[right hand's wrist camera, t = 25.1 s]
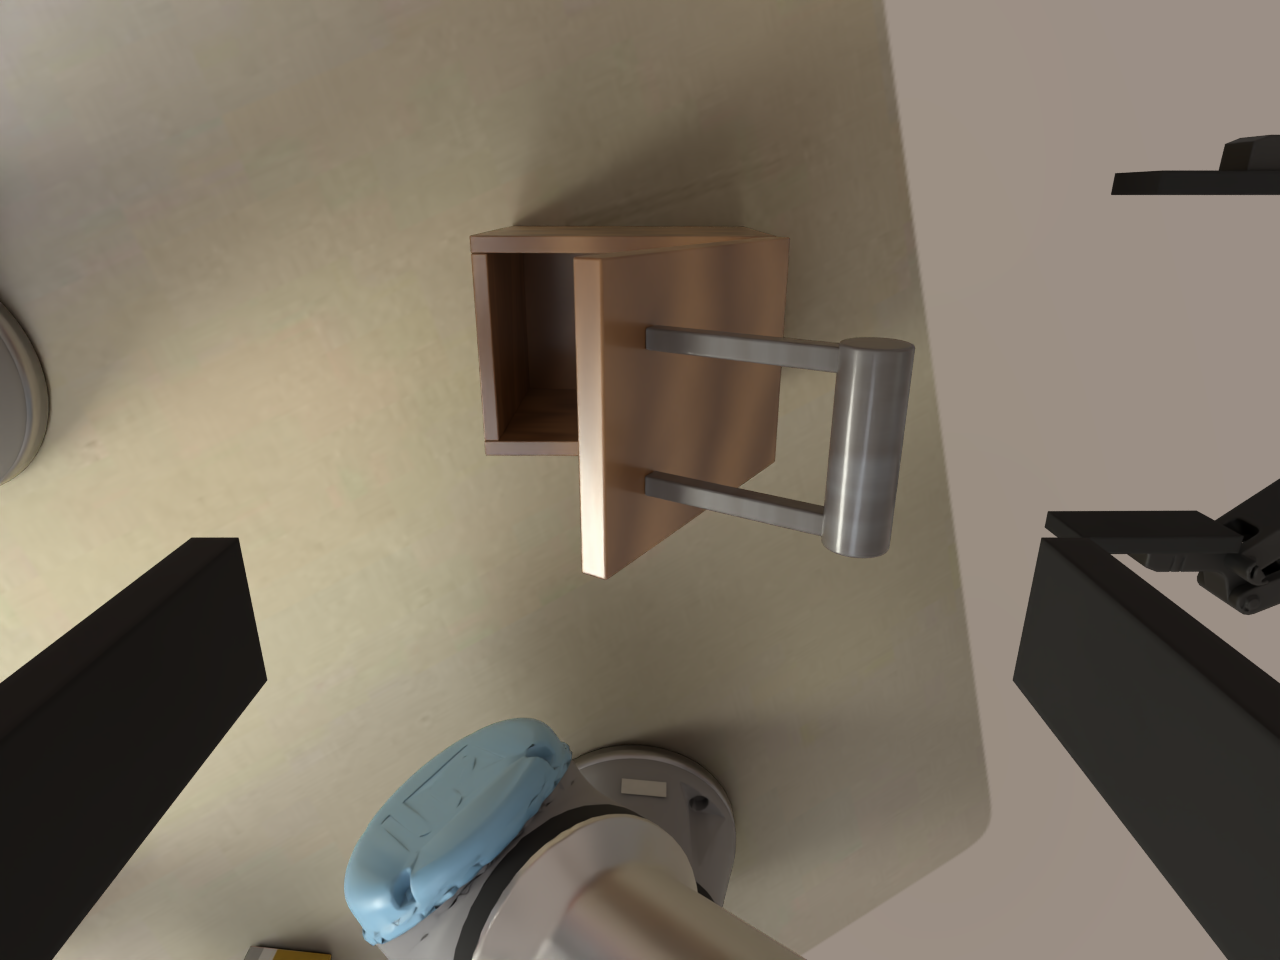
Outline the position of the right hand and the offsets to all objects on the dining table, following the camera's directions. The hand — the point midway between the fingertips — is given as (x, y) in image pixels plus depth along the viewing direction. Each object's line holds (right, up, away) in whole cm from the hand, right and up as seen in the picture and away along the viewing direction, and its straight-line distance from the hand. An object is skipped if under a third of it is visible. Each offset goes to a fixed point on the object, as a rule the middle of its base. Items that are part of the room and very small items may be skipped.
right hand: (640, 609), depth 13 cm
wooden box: (-1, +12, +32) cm, 34 cm away
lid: (+2, +6, +16) cm, 17 cm away
